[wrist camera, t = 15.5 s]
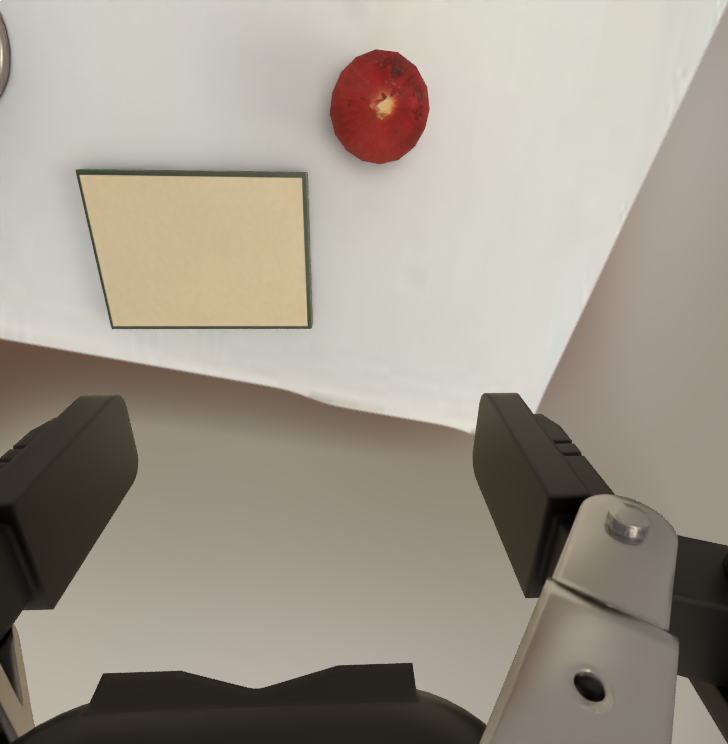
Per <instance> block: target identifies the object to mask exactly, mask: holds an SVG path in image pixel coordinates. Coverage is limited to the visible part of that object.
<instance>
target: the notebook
mask: <svg viewBox="0 0 728 744" xmlns="http://www.w3.org/2000/svg"><path fill="white" fill-rule="evenodd" d="M76 174H77V179H78V183H79V187H80V192H81V196H82V201H83V205H84V209H85V214H86V218H87V223H88V227H89V231H90V236H91V240H92V244H93V249H94V253H95V258H96V262H97V266H98V271H99V275H100V280H101V284H102V288H103V293H104V297H105V301H106V306H107V310H108V315H109V319H110V323H111V328H112V329H311V328H312V323H313V318H312V289H311V259H310V229H309V200H308V173H307V172H254V171H185V170H116V169H79V170H76Z"/></svg>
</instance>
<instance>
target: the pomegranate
mask: <svg viewBox="0 0 728 744" xmlns="http://www.w3.org/2000/svg"><path fill="white" fill-rule="evenodd" d="M428 113H429V100H428V91H427V86H426V84H425V82H424V80H423V78H422V77H421V75H420V73H419V71H418V69H417V67H416V66H415V65H414V64H412V63H411V62H410V61H408V60H407V59H406V58H404V57H403V56H402V55H401V54H399V53H398V52H391V51H384V50H373V51H371V52H368V53H366V54H363V55H361V56H358V57H356V58H355V59H354V60H353V61H352V62H351V63H350V64H349V65H348V66H347V67H346V68H345V69H344V70H343V71H342V72H341V74H340V76H339V78H338V81H337V83H336V85H335V87H334V90H333V92H332V99H331V107H330V117H331V121H332V124H333V128H334V132H335V135H336V136H337V138H338V139H339V141H340V142H341V143H342V145H343V146H344V147H345V149H346V150H347V151H348V152H350V153H351V154H353V155H354V156H356V157H357V158H359V159H360V160H362V161H366V162H372V163H377V164H383V163H387V162H391V161H395V160H399V159H400V158H401V157H402V156H404V155H405V154H406V153H407V152H409V151H410V150H411V149H412V148H414V146H415V145H416V143H417V141H418V140H419V138H420V136H421V135H422V133H423V131H424V129H425V126H426V122H427V118H428Z"/></svg>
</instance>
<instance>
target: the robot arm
mask: <svg viewBox="0 0 728 744" xmlns="http://www.w3.org/2000/svg"><path fill="white" fill-rule="evenodd" d="M9 63H10V55H9V45H8V39H7V34H6V31H5V27H4V24H3V21H2V19H1V16H0V95H1V93H2V92H3V90H4V87H5V85H6V82H7V78H8V73H9ZM473 468H474V474H475V477H476V480H477V482H478V485H479V487H480V490H481V492H482V494H483V497H484V499H485V502H486V504H487V506H488V509H489V511H490V514H491V516H492V519H493V521H494V523H495V526H496V528H497V531H498V533H499V535H500V538H501V540H502V543H503V545H504V547H505V550H506V552H507V555H508V557H509V560H510V562H511V564H512V567H513V569H514V572H515V574H516V577H517V579H518V581H519V584H520V586H521V589H522V591H523V593H524V596H525V598H539V599H538V601H537V604H536V606H535V609H534V611H533V614H532V616H531V618H530V621H529V623H528V626H527V628H526V631H525V633H524V636H523V638H522V641H521V643H520V645H519V648H518V650H517V653H516V655H515V657H514V660H513V662H512V665H511V667H510V670H509V672H508V675H507V677H506V679H505V682H504V684H503V687H502V689H501V692H500V694H499V697H498V699H497V701H496V704H495V706H494V709H493V711H492V714H491V716H490V718H489V721H488V724H487V725H486V724H485V723H484V722H482V721H481V720H480V719H478V718H477V717H475V716H474V715H472V714H471V713H469V712H468V711H466V710H465V709H463V708H462V707H459V706H458V705H456V704H454V703H452V702H450V701H448V700H447V699H444V698H441V697H439V696H436V695H434V694H431V693H429V692H425V691H421V690H417V689H416V686H415V679H414V672H413V665H412V663H396V664H368V665H341V666H335V667H331V668H328V669H325V670H322V671H318V672H315V673H311V674H308V675H305V676H301V677H298V678H295V679H292V680H288V681H285V682H282V683H278V684H275V685H271V686H268V687H265V688H260V689H252V688H247V687H243V686H239V685H235V684H231V683H227V682H223V681H219V680H215V679H211V678H207V677H203V676H199V675H195V674H191V673H187V672H183V671H162V672H134V673H106V674H103V675H102V677H101V679H100V681H99V684H98V686H97V688H96V691H95V693H94V695H93V697H92V699H91V701H90V703H88V704H85V705H82V706H79V707H77V708H74V709H72V710H69V711H67V712H64V713H62V714H60V715H58V716H56V717H54V718H52V719H50V720H48V721H46V722H44V723H42V724H40V725H38V726H36V727H35V724H34V720H33V714H32V709H31V703H30V697H29V692H28V686H27V680H26V674H25V669H24V663H23V657H22V651H21V645H20V639H19V635H18V632H17V629H16V627H15V625H14V622H15V620H16V619H17V618H18V616H19V615H20V613H21V612H22V610H45V609H46V610H48V609H54V608H55V606H56V604H57V603H58V601H59V600H60V598H61V596H62V595H63V593H64V592H65V590H66V589H67V587H68V585H69V584H70V582H71V581H72V579H73V577H74V576H75V574H76V572H77V571H78V570H79V568H80V566H81V565H82V563H83V562H84V560H85V558H86V557H87V555H88V554H89V552H90V551H91V549H92V547H93V546H94V544H95V543H96V541H97V539H98V538H99V536H100V534H101V533H102V531H103V530H104V528H105V527H106V525H107V524H108V522H109V520H110V519H111V517H112V516H113V514H114V513H115V511H116V509H117V508H118V506H119V505H120V503H121V501H122V500H123V498H124V497H125V495H126V493H127V492H128V490H129V489H130V487H131V486H132V484H133V482H134V480H135V478H136V474H137V469H138V455H137V450H136V445H135V441H134V437H133V433H132V428H131V424H130V419H129V415H128V411H127V407H126V403H125V401H124V399H123V398H122V397H121V396H119V395H84V396H80V397H79V398H77V400H75V401H74V402H73V403H72V404H71V405H70V406H69V407H68V408H67V409H66V410H65V411H64V412H63V413H61V414H60V415H59V416H58V417H57V418H54V419H52V420H51V421H48V422H46V423H45V424H43V425H41V426H39V427H37V428H35V429H33V430H31V431H30V432H29V433H28V434H27V435H25V436H24V437H23V438H22V439H21V440H20V441H19V442H18V443H17V444H15V445H14V446H13V449H12V450H9V451H8V452H6V453H5V454H4V455H3V456H2V457H1V458H0V744H671V742H672V730H673V717H674V705H675V704H674V703H675V693H676V680H677V675H680V676H683V677H687V678H688V679H689V680H690V682H691V683H692V685H693V686H694V688H695V690H696V692H697V694H698V695H699V697H700V698H701V700H702V702H703V703H704V705H705V707H706V708H707V710H708V712H709V713H710V715H711V717H712V718H713V720H714V722H715V723H716V725H717V727H718V728H719V730H720V732H721V733H722V735H723V737H724V738H725V740H726V742H727V743H728V546H727V545H722V544H717V543H712V542H707V541H702V540H698V539H692V538H688V537H683V536H679V535H677V534H676V531H675V530H674V528H673V527H672V525H671V524H670V523H669V522H668V521H667V520H666V519H665V518H664V517H663V516H662V515H661V514H659V513H658V512H657V511H655V510H654V509H652V508H650V507H649V506H647V505H645V504H642V503H641V502H638V501H635V500H633V499H630V498H626V497H623V496H618V495H615V494H614V493H613V492H612V490H611V489H610V488H609V486H608V485H607V484H606V483H605V481H604V480H603V479H602V478H601V476H600V475H599V474H598V473H597V472H596V470H595V469H594V468H593V467H592V465H591V464H590V463H589V462H588V460H587V459H586V458H585V457H584V456H582V455H581V452H580V450H579V449H578V448H577V447H576V445H575V444H572V440H571V439H570V438H569V437H568V435H567V434H566V433H565V432H564V430H563V429H562V428H561V427H560V426H559V425H558V424H556V423H554V422H553V421H551V420H550V419H548V418H547V417H545V416H544V415H542V414H533V413H532V412H531V410H530V409H529V407H528V406H527V405H526V403H525V402H524V401H523V399H522V398H521V397H520V395H519V394H517V393H484V394H483V395H482V397H481V399H480V404H479V411H478V418H477V425H476V433H475V441H474V447H473Z"/></svg>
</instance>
